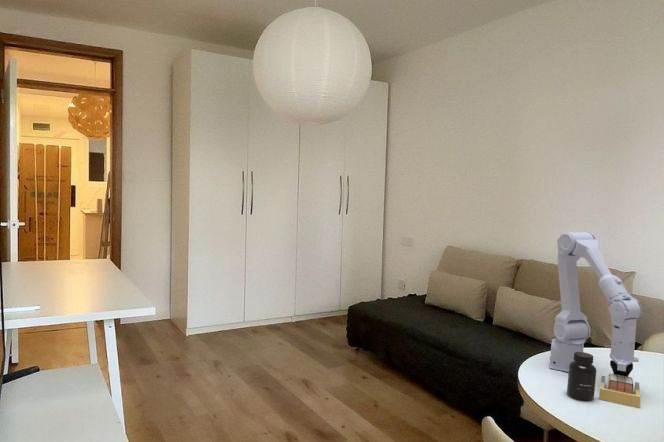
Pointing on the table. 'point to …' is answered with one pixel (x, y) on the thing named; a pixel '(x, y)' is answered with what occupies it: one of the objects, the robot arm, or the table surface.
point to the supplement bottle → (581, 377)
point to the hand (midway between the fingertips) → (619, 387)
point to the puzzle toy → (620, 383)
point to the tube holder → (620, 395)
